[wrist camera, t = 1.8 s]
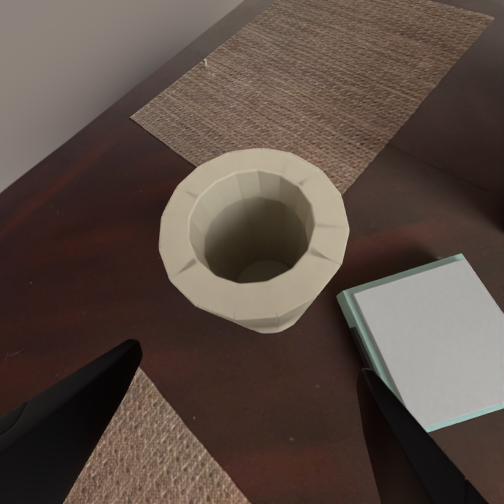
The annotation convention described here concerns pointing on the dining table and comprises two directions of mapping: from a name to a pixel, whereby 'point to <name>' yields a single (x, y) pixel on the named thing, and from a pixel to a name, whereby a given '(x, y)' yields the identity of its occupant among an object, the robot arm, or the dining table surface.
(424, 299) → the scale
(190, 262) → the jar
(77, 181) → the dining table surface
